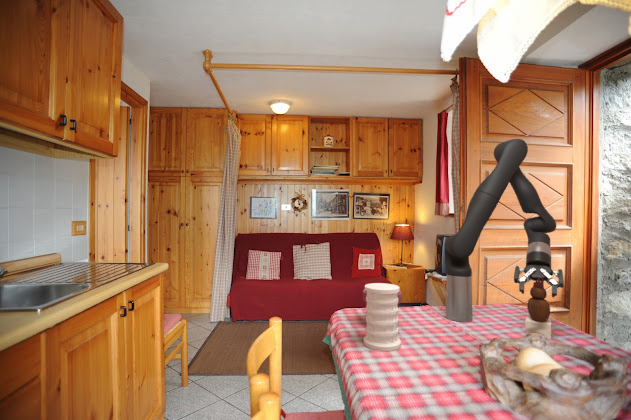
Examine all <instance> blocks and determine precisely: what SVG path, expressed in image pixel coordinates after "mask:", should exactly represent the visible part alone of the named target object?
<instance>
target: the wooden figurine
mask: <svg viewBox="0 0 631 420" xmlns="http://www.w3.org/2000/svg"><path fill="white" fill-rule="evenodd" d="M544 283H545V282H543V277H542V279H541V281H540V279H539V278H538V281H537V280H536V281H534V282H533V283H532V284H533V285H532V287H531V288H530V290H529V293H530V296H531V297H530V298H529V299H528V301H527V307H526V309H527V310H528V311H527V312H528V315H529V317H531V318H532V319H533V320H535V321H538V322H545V321H547V320H549V318H550V314H551V306H550V304H549V301H548V300H546V298H547V295H548V293H547V290H546V288H545V287H544Z"/></svg>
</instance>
